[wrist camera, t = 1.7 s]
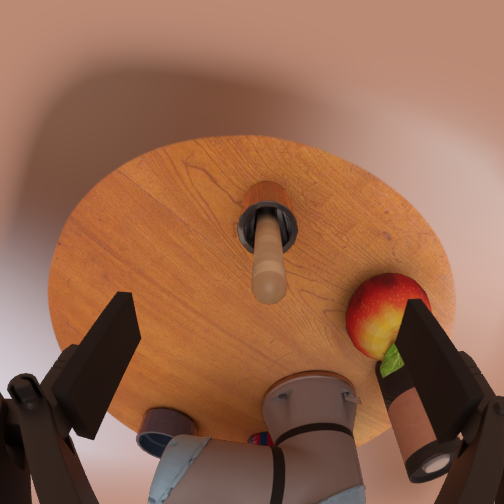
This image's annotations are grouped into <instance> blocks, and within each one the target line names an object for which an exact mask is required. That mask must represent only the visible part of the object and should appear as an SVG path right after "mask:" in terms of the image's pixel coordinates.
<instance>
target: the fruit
mask: <svg viewBox="0 0 504 504" xmlns="http://www.w3.org/2000/svg"><path fill="white" fill-rule="evenodd" d="M408 299H422V301H423V302H424V303H425V305H426V306H427V307H428V309H429V310H430V311H431V306H430V303H429V300H428V297H427V294H426V293H425V291H424V290H423V289H422V288H421V286H420V285H419V284H418V283H417V282H416V281H415V280H413V279H411V278H409V277H407V276H405V275H402V274H397V273H385V274H381V275H377V276H374V277H372V278H370V279H369V280H367V281H365V282H364V283H363V284H362V285H361V286H360V287H359V288H358V289H357V290H356V291H355V292H354V294H353V296H352V297H351V299H350V301H349V304H348V308H347V312H346V326H347V332H348V335H349V337H350V339H351V340H352V342H353V344H354V346H355V347H356V348H357V349H358V350H359V351H361V352H362V353H363V354H365V355H366V356H367V357H369V358H372V359H376V360H379V361H382V363H381V366H380V371H381V375H382V377H383V378H384V377H386V376H387V375H389V374H391V373H392V372H394V371H396V370H398V369H399V368H401V367H402V366H403V365H404V362H403V360H402V358H401V356H400V354H399V352H398V350H397V348H396V346H395V341H396V338H397V334H398V331H399V328H400V325H401V321H402V318H403V315H404V311H405V307H406V304H407V300H408ZM431 313H432V312H431Z"/></svg>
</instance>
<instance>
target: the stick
mask: <svg viewBox="0 0 504 504" xmlns="http://www.w3.org/2000/svg"><path fill="white" fill-rule="evenodd" d="M251 288H252V293H253V295H254V297H255V298H256V299H257V300H258V301H259V302H261V303H263V304H268V305H270V304H275V303H277V302H279V301H281V300H282V299H283V297H284V296H285V294H286V291H287V281H286V273H285V265H284V257H283V250H282V242H281V235H280V228H279V221H278V214H277V208H275V207H261V208H258V209H257V219H256V232H255V245H254V258H253V272H252V285H251Z"/></svg>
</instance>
